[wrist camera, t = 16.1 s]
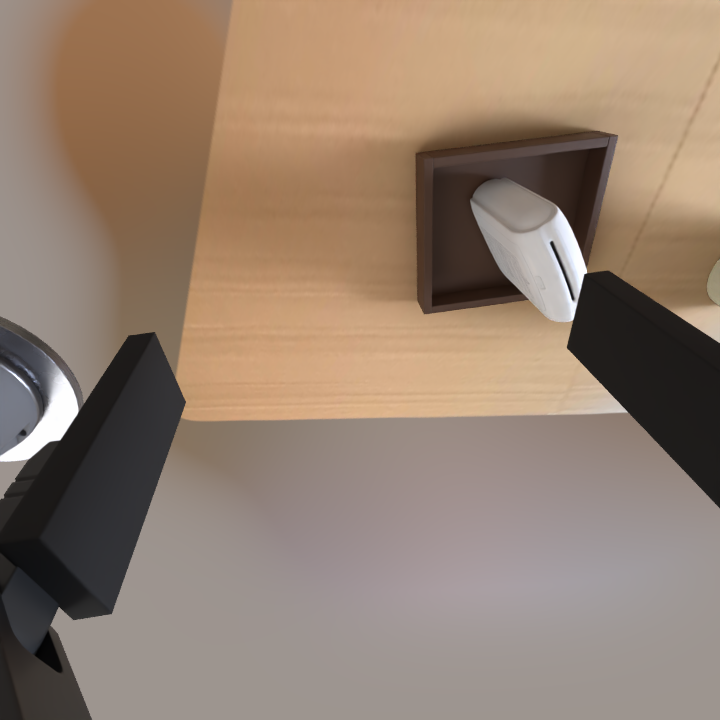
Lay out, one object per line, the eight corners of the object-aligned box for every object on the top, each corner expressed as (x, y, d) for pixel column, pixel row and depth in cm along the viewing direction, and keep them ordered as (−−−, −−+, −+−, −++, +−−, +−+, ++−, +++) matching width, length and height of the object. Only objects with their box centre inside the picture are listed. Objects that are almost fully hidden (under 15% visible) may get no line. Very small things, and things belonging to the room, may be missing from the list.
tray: (417, 300, 45) (424, 314, 43) (415, 152, 37) (423, 158, 34) (565, 280, 46) (581, 292, 43) (597, 130, 37) (618, 135, 35)
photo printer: (539, 256, 43) (611, 313, 33) (501, 279, 44) (561, 341, 34) (503, 167, 38) (577, 202, 28) (461, 195, 39) (517, 239, 29)
